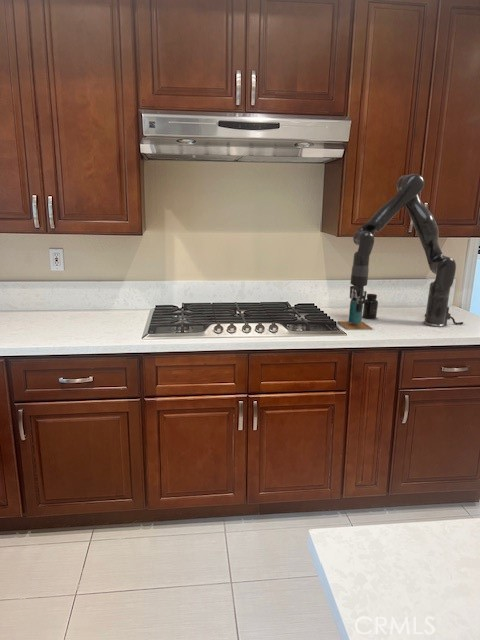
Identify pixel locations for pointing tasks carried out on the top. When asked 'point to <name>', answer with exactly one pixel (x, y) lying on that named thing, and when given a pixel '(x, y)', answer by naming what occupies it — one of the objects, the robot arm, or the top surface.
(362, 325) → the cork coaster
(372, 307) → the supplement bottle
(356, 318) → the teal can
